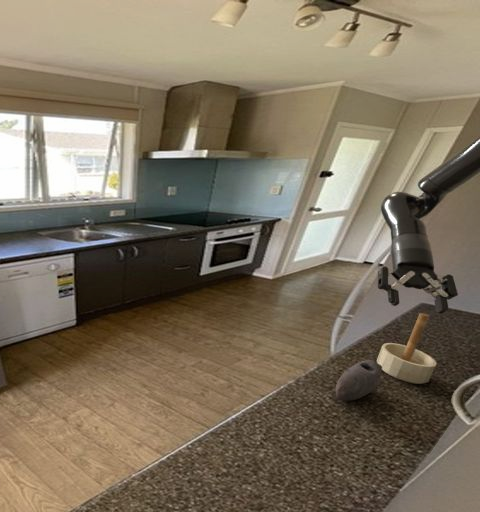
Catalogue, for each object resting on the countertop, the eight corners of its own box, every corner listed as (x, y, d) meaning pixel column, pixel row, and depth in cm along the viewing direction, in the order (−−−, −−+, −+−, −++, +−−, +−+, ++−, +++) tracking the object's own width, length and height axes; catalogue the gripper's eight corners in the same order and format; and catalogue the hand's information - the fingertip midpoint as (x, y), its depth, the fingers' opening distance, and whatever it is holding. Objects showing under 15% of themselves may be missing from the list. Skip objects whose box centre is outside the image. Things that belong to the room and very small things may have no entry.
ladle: (405, 367, 75) (427, 313, 70) (407, 372, 73) (430, 317, 69) (384, 361, 77) (405, 308, 72) (386, 366, 76) (407, 312, 71)
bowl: (421, 369, 76) (429, 351, 74) (433, 391, 69) (442, 372, 67) (373, 355, 81) (379, 338, 80) (379, 374, 74) (386, 356, 72)
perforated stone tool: (347, 411, 62) (356, 386, 60) (321, 394, 67) (329, 370, 65) (383, 391, 68) (392, 367, 66) (356, 377, 73) (365, 354, 71)
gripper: (384, 243, 79) (388, 297, 72) (457, 250, 73) (469, 310, 66) (370, 256, 85) (374, 307, 79) (437, 264, 79) (446, 319, 73)
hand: (417, 308), depth 72 cm, fingers open, 8 cm apart
